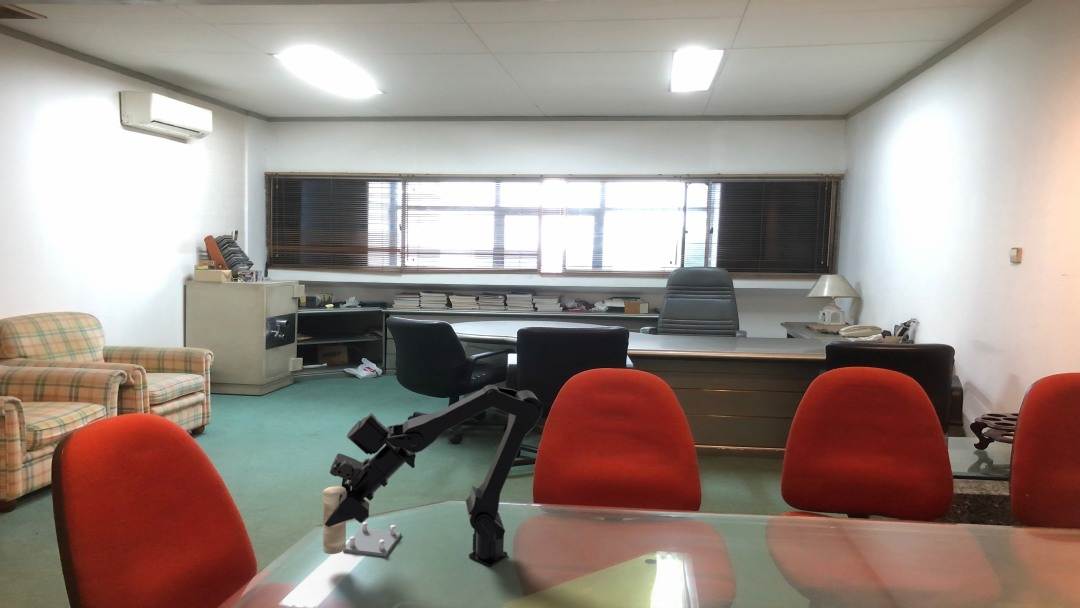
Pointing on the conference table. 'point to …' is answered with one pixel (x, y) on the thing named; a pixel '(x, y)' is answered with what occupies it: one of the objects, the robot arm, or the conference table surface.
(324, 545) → the birch post
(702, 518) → the conference table surface
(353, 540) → the peg plate
